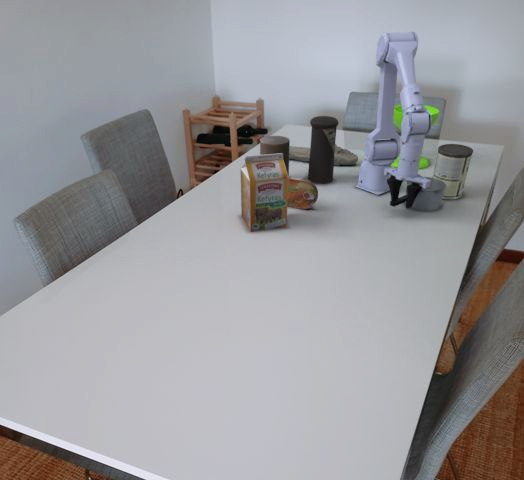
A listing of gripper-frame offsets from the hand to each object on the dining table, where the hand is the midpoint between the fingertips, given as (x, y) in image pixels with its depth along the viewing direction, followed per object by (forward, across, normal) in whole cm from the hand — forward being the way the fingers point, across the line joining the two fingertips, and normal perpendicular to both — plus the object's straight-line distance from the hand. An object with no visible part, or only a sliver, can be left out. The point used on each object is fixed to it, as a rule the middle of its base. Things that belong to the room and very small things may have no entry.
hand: (401, 205), depth 150 cm
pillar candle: (+3, -44, -11) cm, 45 cm away
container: (+3, -35, +2) cm, 35 cm away
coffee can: (+3, 0, +24) cm, 24 cm away
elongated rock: (+3, -52, +15) cm, 54 cm away
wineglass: (+3, -27, +40) cm, 48 cm away
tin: (+3, -25, -20) cm, 32 cm away
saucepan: (+3, 0, +6) cm, 7 cm away
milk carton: (+3, -22, -35) cm, 41 cm away
